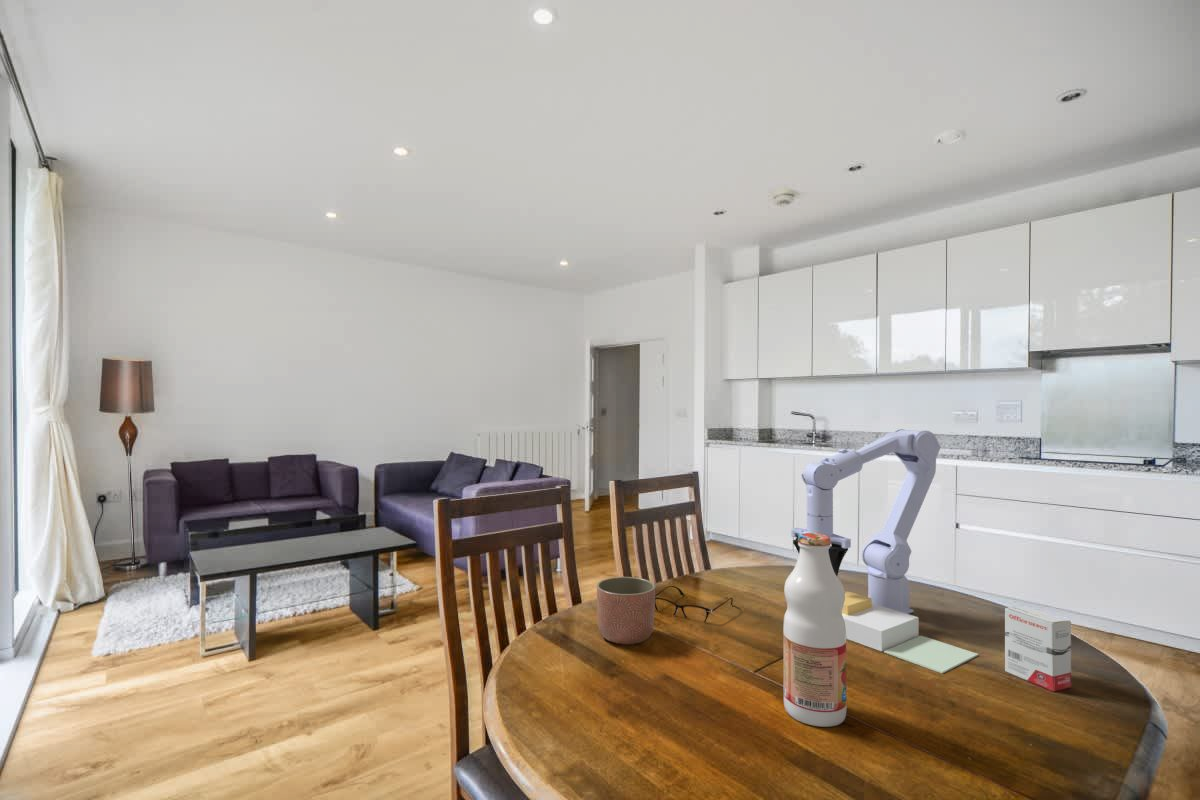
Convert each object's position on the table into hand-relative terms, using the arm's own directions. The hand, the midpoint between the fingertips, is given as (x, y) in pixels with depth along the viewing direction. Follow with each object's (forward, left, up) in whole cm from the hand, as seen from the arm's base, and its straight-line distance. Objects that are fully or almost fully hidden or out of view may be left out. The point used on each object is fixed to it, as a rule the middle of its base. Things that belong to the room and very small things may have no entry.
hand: (819, 573), depth 135 cm
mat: (0, +25, -10) cm, 27 cm away
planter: (+45, -15, -10) cm, 48 cm away
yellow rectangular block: (0, +7, -6) cm, 9 cm away
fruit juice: (+38, +26, -10) cm, 47 cm away
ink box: (-5, +41, -10) cm, 43 cm away
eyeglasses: (+21, -20, -11) cm, 31 cm away
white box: (0, +8, -10) cm, 13 cm away
